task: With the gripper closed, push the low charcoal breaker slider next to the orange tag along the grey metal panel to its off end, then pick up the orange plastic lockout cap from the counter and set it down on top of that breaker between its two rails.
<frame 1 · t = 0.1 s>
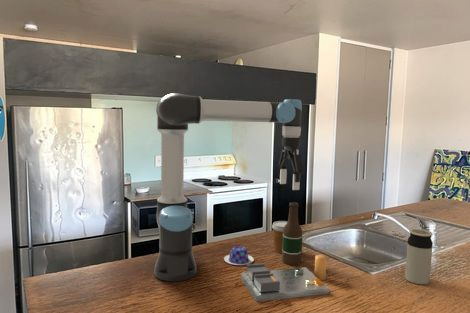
hand: (289, 186, 157), 28 cm above the worktop, tool pointing down, fingers open, 13 cm apart
lockout cap: (319, 278, 133), on the worktop
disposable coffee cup: (282, 251, 159), on the worktop
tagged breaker: (266, 282, 120), point 4 cm above the worktop, slide at 0.0 cm
pudding: (238, 261, 148), on the worktop
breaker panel: (283, 285, 126), on the worktop
travel mug: (416, 280, 133), on the worktop
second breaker: (258, 271, 128), point 4 cm above the worktop, slide at 0.0 cm
beer bottle: (291, 262, 147), on the worktop
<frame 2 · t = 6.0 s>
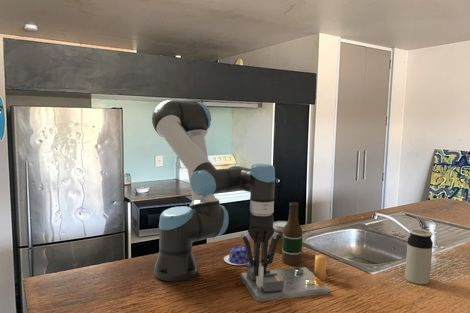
hand: (259, 284, 119), 3 cm above the worktop, tool pointing down, fingers closed
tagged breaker: (270, 282, 120), point 4 cm above the worktop, slide at 1.4 cm, touching gripper
everything else where it was.
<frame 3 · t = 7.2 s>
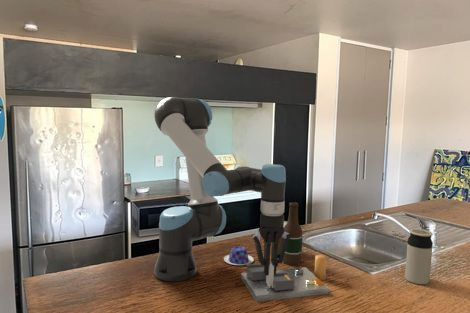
hand: (269, 284, 120), 3 cm above the worktop, tool pointing down, fingers closed
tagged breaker: (280, 281, 121), point 4 cm above the worktop, slide at 4.9 cm, touching gripper
everything else where it was.
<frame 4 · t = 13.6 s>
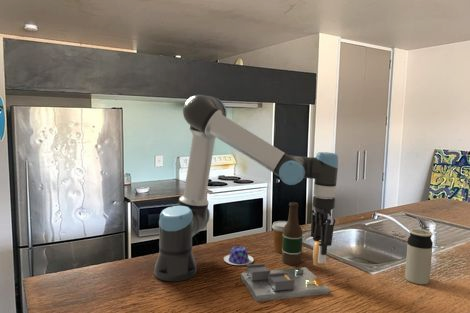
hand: (319, 260, 133), 6 cm above the worktop, tool pointing down, fingers closed on lockout cap, 3 cm apart
lockout cap: (318, 264, 133), point 5 cm above the worktop, touching gripper
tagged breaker: (280, 281, 121), point 4 cm above the worktop, slide at 4.9 cm
everything else where it was.
when the fingers open (7 cm above the worktop, at t = 17.3 s): lockout cap stays where it is, resting on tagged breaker.
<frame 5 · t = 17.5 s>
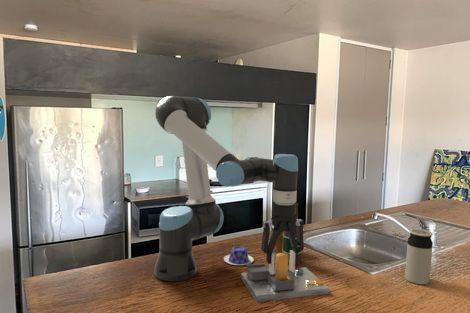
hand: (281, 271, 121), 7 cm above the worktop, tool pointing down, fingers open, 7 cm apart
lockout cap: (281, 278, 121), point 5 cm above the worktop, touching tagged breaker
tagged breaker: (280, 281, 121), point 4 cm above the worktop, slide at 4.9 cm, touching lockout cap
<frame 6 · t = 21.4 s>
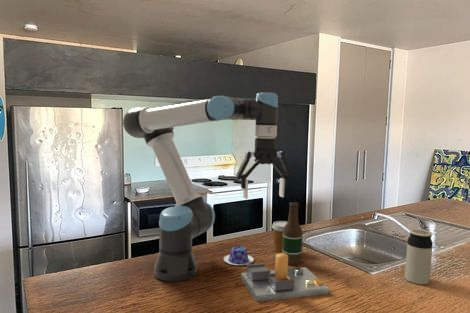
hand: (263, 197, 131), 29 cm above the worktop, tool pointing down, fingers open, 13 cm apart
at the end: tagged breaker slide at 4.9 cm; lockout cap 0.1 cm off-centre on the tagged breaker, point 2.2 cm above the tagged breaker's base; lockout cap tilted 0° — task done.
